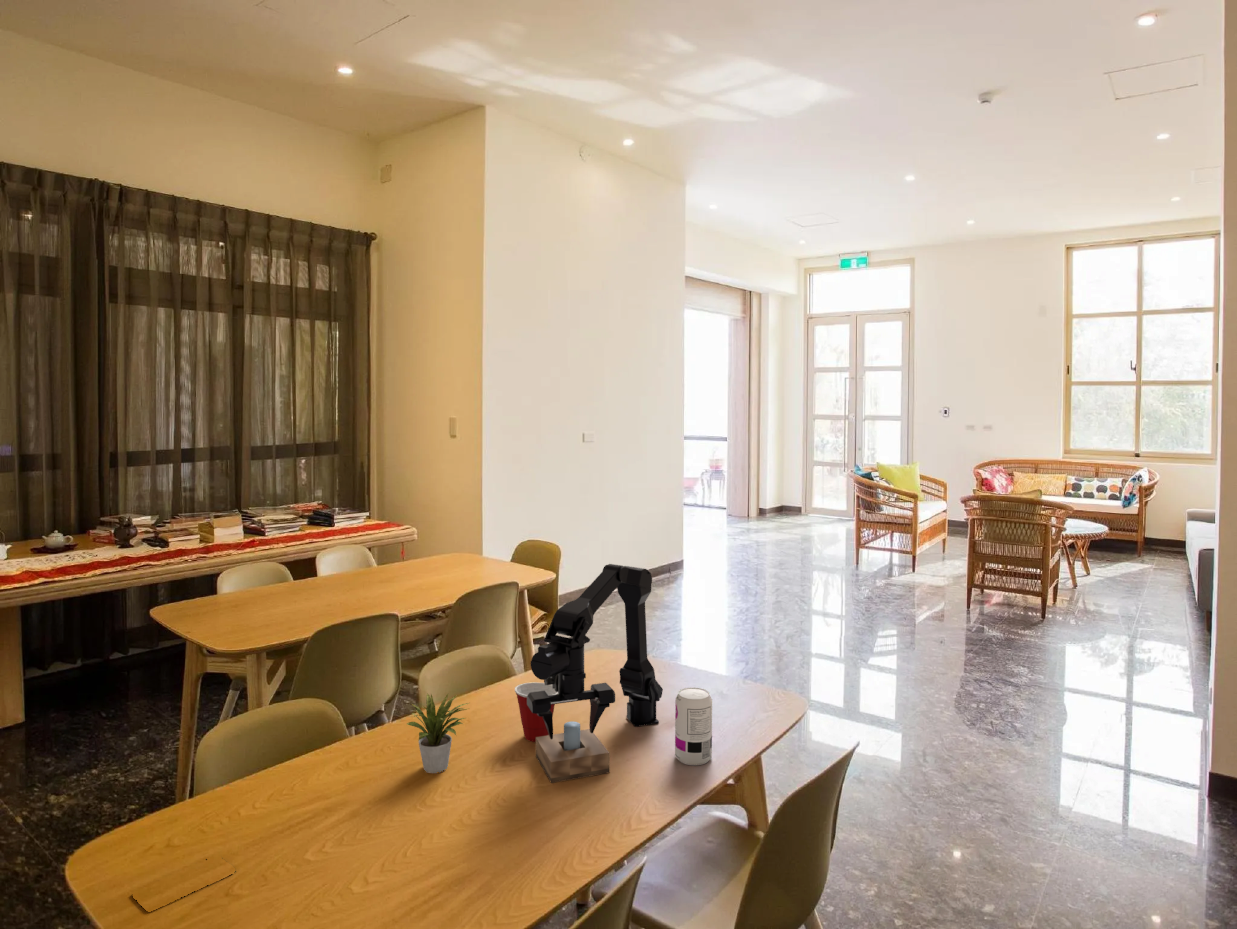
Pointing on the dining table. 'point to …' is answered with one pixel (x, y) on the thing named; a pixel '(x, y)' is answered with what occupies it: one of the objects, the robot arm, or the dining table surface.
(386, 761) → the dining table surface
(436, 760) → the house plant
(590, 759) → the bore block
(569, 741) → the pin
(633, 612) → the robot arm
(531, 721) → the plastic cup
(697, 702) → the supplement can
